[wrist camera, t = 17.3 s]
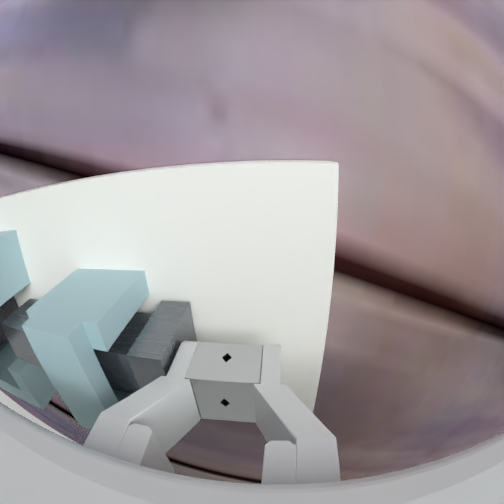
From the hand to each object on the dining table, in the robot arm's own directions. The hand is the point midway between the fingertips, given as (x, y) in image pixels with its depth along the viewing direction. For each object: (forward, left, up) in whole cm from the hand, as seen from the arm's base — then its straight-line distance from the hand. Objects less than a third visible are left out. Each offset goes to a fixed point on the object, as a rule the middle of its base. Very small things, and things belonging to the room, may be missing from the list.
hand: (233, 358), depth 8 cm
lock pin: (+6, 0, -1) cm, 6 cm away
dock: (+7, 0, -2) cm, 8 cm away
